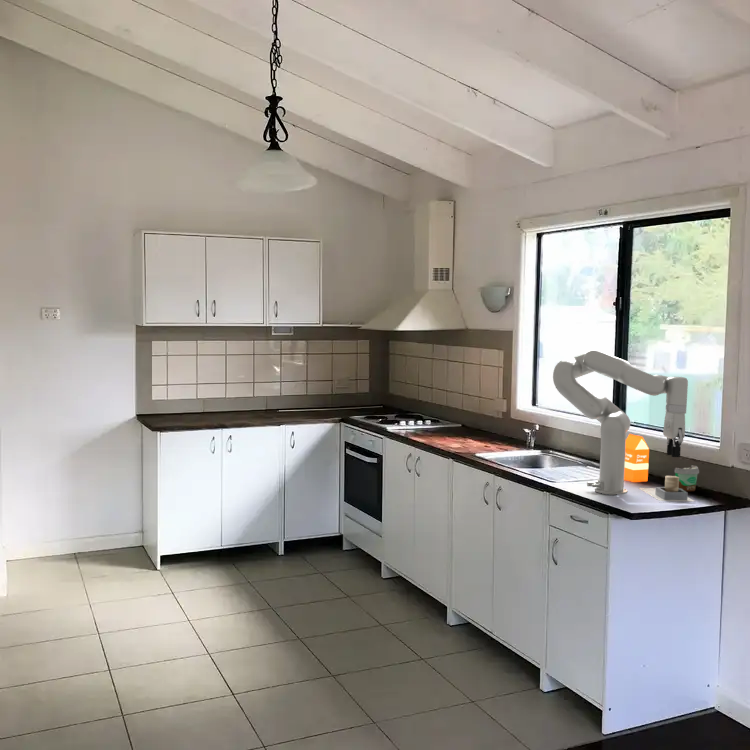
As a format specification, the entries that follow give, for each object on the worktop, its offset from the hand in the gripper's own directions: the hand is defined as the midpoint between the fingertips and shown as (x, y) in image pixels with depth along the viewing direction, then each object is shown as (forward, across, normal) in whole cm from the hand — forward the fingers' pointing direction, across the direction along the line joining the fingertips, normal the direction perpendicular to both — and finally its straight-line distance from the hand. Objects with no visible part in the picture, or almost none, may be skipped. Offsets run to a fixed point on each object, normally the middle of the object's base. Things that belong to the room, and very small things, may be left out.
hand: (673, 455), depth 319 cm
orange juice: (+18, -33, -3) cm, 38 cm away
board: (+17, -5, 0) cm, 18 cm away
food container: (+17, -14, +13) cm, 26 cm away
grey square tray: (+17, 0, 0) cm, 17 cm away
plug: (+16, 0, 0) cm, 16 cm away
